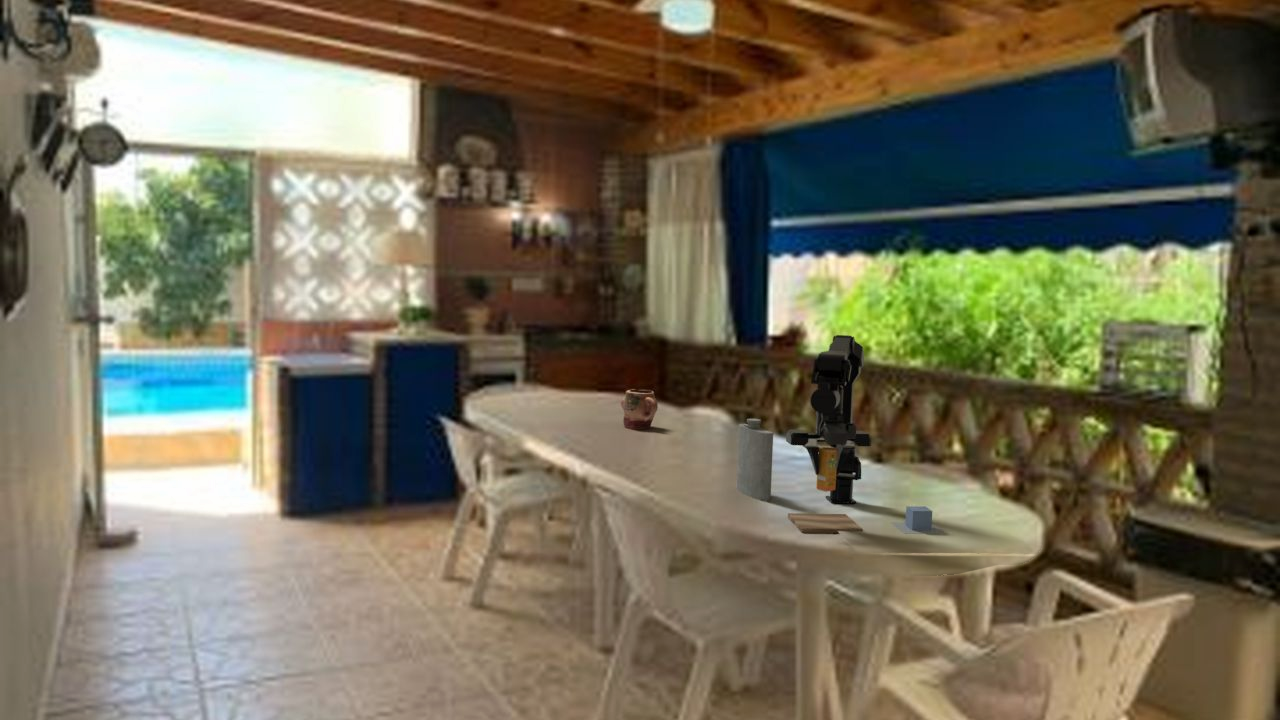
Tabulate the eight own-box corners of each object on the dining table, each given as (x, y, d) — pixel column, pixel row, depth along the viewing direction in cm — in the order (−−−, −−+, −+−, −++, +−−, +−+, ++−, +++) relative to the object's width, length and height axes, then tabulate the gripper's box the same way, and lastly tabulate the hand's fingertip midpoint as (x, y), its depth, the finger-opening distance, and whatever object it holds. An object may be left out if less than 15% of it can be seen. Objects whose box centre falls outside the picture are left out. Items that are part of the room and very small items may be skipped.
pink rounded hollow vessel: (669, 431, 367) (671, 393, 365) (642, 433, 359) (643, 394, 358) (637, 423, 383) (638, 386, 381) (610, 425, 375) (611, 388, 374)
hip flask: (772, 500, 259) (776, 423, 257) (758, 501, 257) (761, 423, 256) (745, 487, 274) (748, 414, 272) (731, 488, 272) (734, 414, 270)
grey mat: (889, 524, 237) (890, 522, 237) (931, 525, 238) (931, 522, 238) (904, 535, 227) (904, 533, 227) (947, 536, 228) (947, 533, 228)
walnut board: (787, 517, 241) (788, 513, 241) (845, 518, 242) (845, 513, 242) (801, 532, 227) (801, 528, 227) (862, 533, 228) (862, 528, 228)
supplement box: (826, 492, 232) (827, 449, 231) (816, 489, 234) (817, 446, 233) (837, 490, 233) (838, 447, 233) (826, 487, 236) (827, 445, 235)
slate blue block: (905, 525, 234) (906, 506, 234) (924, 525, 235) (925, 506, 234) (912, 530, 230) (913, 510, 229) (931, 530, 230) (932, 511, 230)
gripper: (798, 412, 223) (795, 481, 225) (880, 414, 225) (876, 482, 226) (786, 405, 235) (784, 471, 236) (865, 406, 236) (862, 472, 237)
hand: (826, 474), depth 234 cm, fingers closed on supplement box, 4 cm apart
